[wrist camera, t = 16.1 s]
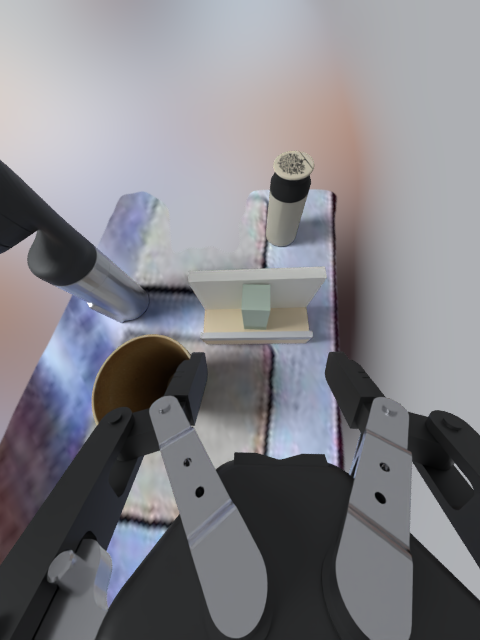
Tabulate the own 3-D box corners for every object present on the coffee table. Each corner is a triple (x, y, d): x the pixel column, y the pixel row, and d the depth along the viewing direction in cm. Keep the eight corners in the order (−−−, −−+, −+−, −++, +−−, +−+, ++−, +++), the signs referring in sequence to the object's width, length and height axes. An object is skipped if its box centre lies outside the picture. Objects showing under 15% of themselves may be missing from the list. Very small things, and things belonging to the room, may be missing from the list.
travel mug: (270, 250, 51) (279, 183, 34) (262, 227, 54) (267, 154, 37) (299, 243, 51) (322, 173, 34) (290, 221, 54) (307, 145, 37)
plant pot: (198, 339, 44) (170, 316, 29) (230, 399, 40) (216, 408, 25) (139, 373, 43) (77, 367, 28) (165, 440, 38) (108, 476, 23)
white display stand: (305, 343, 43) (333, 320, 28) (207, 344, 44) (183, 322, 29) (300, 306, 46) (324, 266, 30) (209, 308, 47) (188, 271, 32)
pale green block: (265, 329, 40) (270, 310, 30) (244, 329, 40) (241, 309, 30) (265, 309, 41) (270, 284, 31) (245, 309, 42) (242, 284, 31)
